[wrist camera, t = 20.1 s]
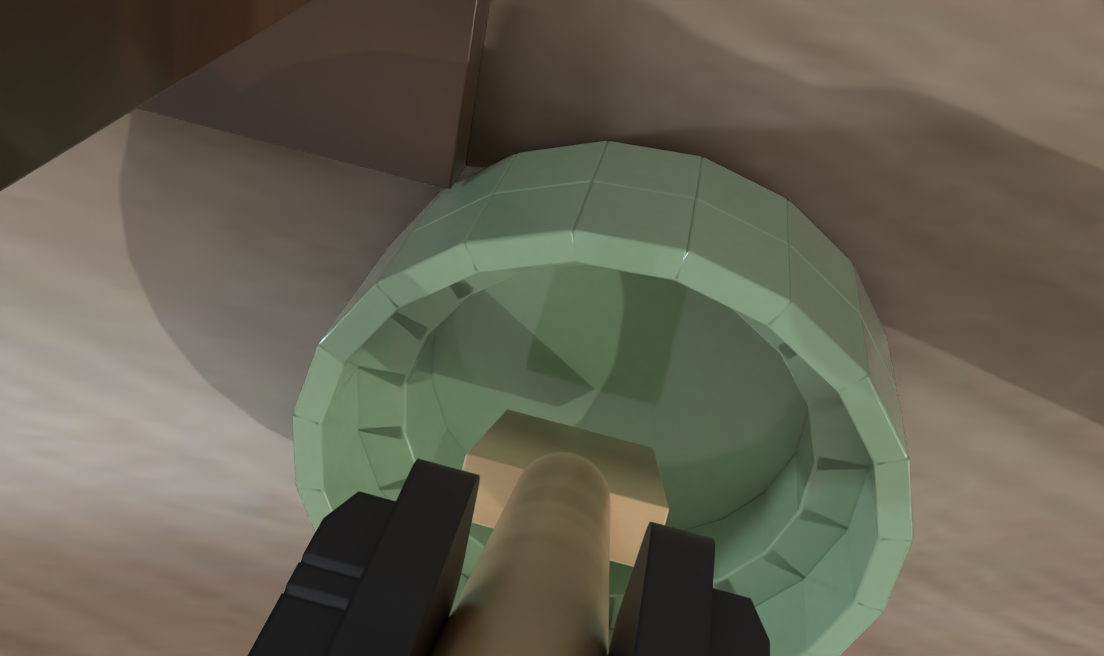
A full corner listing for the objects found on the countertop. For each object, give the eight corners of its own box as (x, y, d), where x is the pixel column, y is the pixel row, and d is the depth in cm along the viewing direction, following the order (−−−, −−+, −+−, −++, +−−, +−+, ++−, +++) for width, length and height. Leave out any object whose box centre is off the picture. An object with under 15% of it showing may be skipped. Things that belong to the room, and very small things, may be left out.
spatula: (734, 1159, 7) (812, 877, 7) (116, 972, 7) (184, 699, 7) (641, 494, 29) (659, 428, 29) (494, 455, 29) (511, 388, 29)
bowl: (274, 267, 30) (175, 376, 25) (747, 30, 24) (740, 113, 19) (530, 613, 36) (491, 757, 31) (965, 495, 30) (1003, 651, 25)
